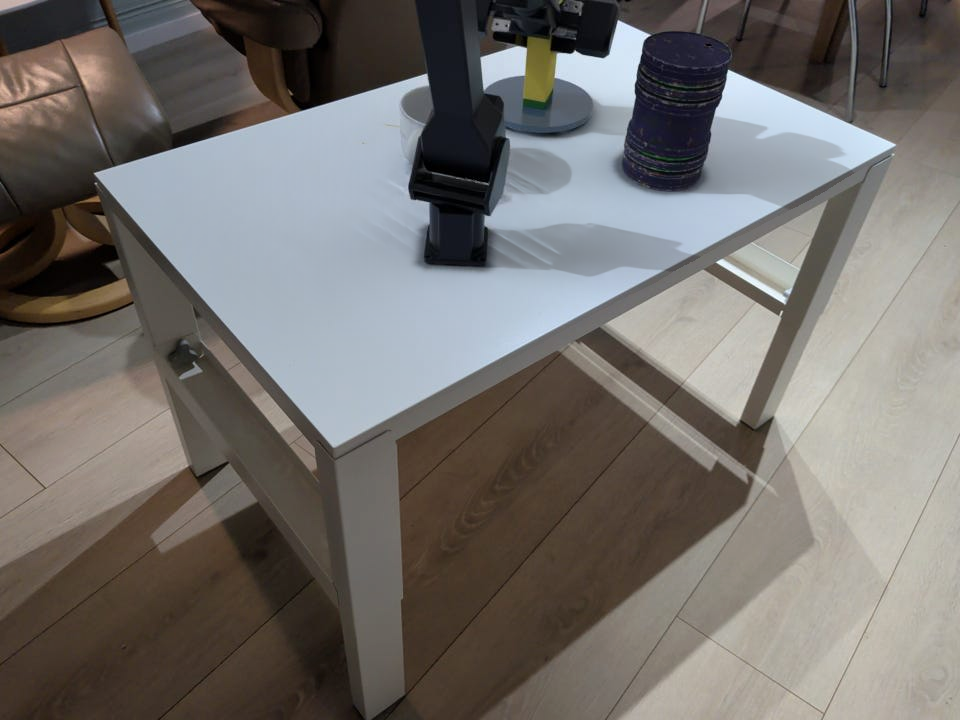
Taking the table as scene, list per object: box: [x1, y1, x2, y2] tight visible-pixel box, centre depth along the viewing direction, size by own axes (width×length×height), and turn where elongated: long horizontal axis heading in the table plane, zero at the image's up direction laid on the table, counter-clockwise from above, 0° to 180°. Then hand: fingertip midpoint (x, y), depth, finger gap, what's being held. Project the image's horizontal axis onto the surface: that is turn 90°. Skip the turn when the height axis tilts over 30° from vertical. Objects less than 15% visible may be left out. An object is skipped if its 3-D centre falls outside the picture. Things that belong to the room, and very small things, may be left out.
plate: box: [484, 75, 594, 134], centre depth 107 cm, size 15×15×1 cm
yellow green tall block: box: [523, 0, 563, 109], centre depth 102 cm, size 3×4×14 cm, turn 162°
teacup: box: [398, 84, 459, 179], centre depth 93 cm, size 14×11×8 cm
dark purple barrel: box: [621, 30, 733, 192], centre depth 92 cm, size 10×10×15 cm
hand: (544, 47), depth 103 cm, fingers closed on yellow green tall block, 3 cm apart
